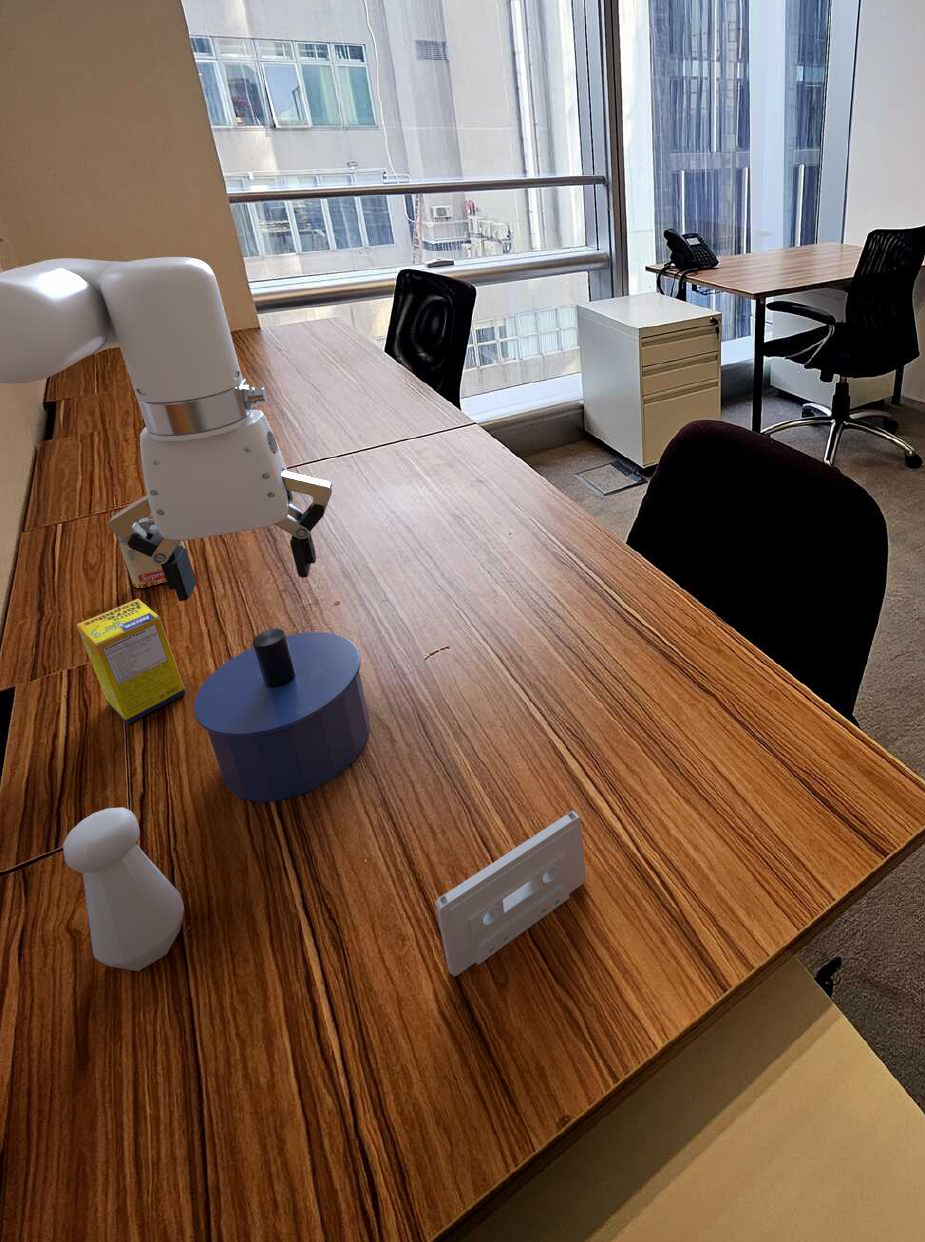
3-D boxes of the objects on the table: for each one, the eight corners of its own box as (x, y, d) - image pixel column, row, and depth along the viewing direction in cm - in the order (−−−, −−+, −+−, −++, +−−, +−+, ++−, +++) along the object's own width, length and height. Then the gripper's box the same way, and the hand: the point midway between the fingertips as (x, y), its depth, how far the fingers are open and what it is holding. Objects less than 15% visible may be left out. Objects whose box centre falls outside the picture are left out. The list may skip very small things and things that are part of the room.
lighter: (132, 592, 103) (110, 530, 99) (134, 579, 106) (113, 518, 102) (192, 577, 106) (174, 516, 103) (193, 565, 109) (174, 505, 106)
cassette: (578, 869, 64) (572, 804, 61) (590, 885, 62) (584, 819, 60) (445, 964, 57) (430, 896, 54) (455, 984, 55) (441, 915, 52)
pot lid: (179, 761, 65) (159, 707, 63) (214, 659, 78) (199, 611, 75) (358, 717, 70) (346, 665, 68) (364, 627, 82) (354, 581, 80)
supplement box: (165, 674, 87) (138, 596, 83) (187, 694, 84) (160, 615, 80) (105, 704, 83) (74, 623, 79) (127, 726, 80) (95, 644, 75)
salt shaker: (84, 966, 57) (25, 846, 52) (158, 898, 62) (110, 783, 57) (136, 995, 55) (79, 873, 50) (208, 923, 60) (162, 806, 55)
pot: (209, 820, 69) (185, 750, 65) (237, 719, 80) (217, 656, 77) (367, 777, 73) (351, 710, 70) (371, 687, 85) (358, 627, 82)
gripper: (315, 382, 68) (351, 543, 74) (90, 408, 62) (151, 579, 69) (306, 409, 61) (346, 582, 68) (54, 440, 56) (125, 626, 62)
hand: (248, 581), depth 68 cm, fingers open, 9 cm apart
